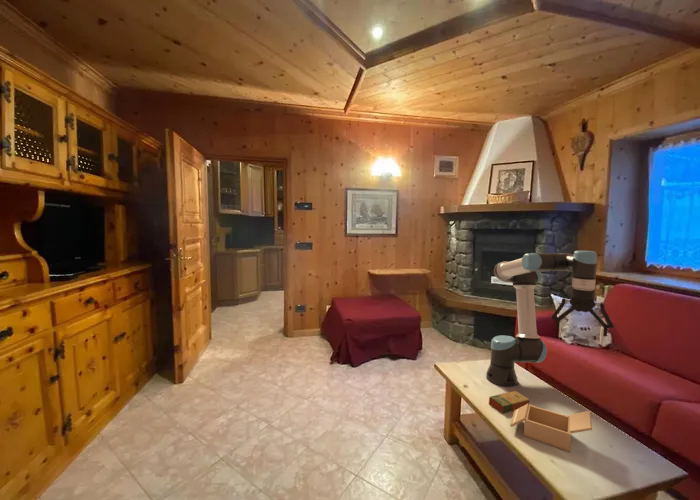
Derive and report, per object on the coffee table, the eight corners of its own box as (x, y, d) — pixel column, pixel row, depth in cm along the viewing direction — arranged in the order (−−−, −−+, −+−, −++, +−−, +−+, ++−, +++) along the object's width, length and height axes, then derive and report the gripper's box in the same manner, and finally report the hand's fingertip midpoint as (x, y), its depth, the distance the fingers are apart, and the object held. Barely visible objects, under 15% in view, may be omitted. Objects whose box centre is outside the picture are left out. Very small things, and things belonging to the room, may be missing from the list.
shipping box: (514, 415, 136) (515, 399, 135) (569, 433, 125) (570, 415, 124) (509, 431, 125) (510, 413, 125) (569, 452, 114) (570, 432, 113)
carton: (529, 408, 143) (530, 399, 142) (502, 415, 137) (503, 405, 137) (514, 398, 151) (514, 390, 150) (488, 404, 145) (488, 395, 145)
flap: (569, 414, 124) (589, 410, 120) (571, 416, 124) (590, 413, 120) (569, 431, 114) (590, 427, 110) (571, 433, 114) (592, 430, 110)
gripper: (546, 286, 130) (543, 336, 131) (625, 294, 115) (621, 350, 117) (547, 284, 136) (544, 331, 137) (622, 291, 121) (618, 344, 123)
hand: (579, 340), depth 127 cm, fingers open, 13 cm apart
